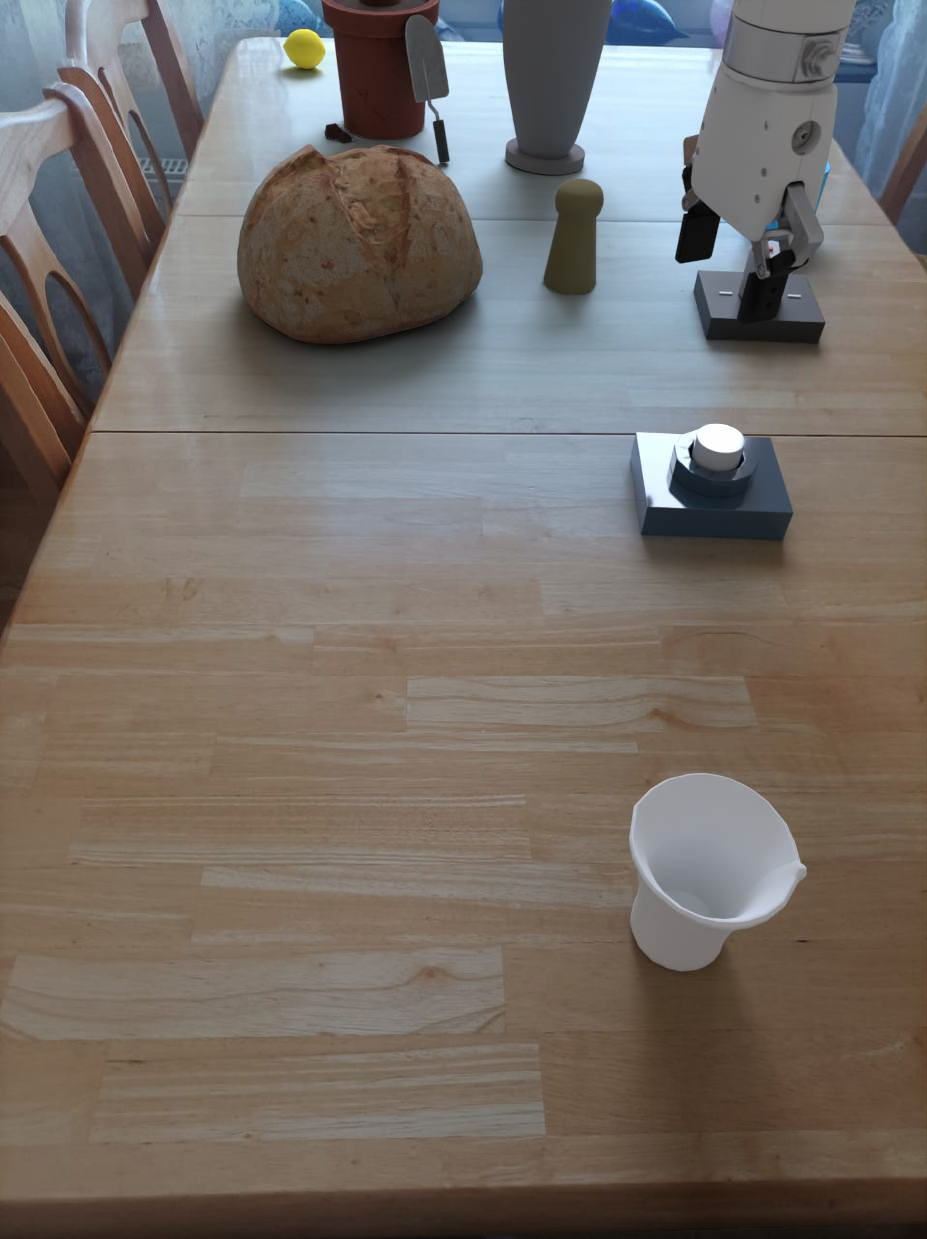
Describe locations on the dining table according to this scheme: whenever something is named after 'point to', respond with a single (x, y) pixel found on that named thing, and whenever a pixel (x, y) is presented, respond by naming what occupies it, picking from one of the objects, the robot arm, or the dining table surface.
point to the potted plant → (387, 68)
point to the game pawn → (574, 238)
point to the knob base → (791, 324)
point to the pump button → (718, 447)
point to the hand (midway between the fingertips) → (723, 288)
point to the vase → (551, 78)
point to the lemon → (304, 48)
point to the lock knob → (751, 264)
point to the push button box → (708, 491)
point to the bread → (356, 245)
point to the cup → (706, 867)
